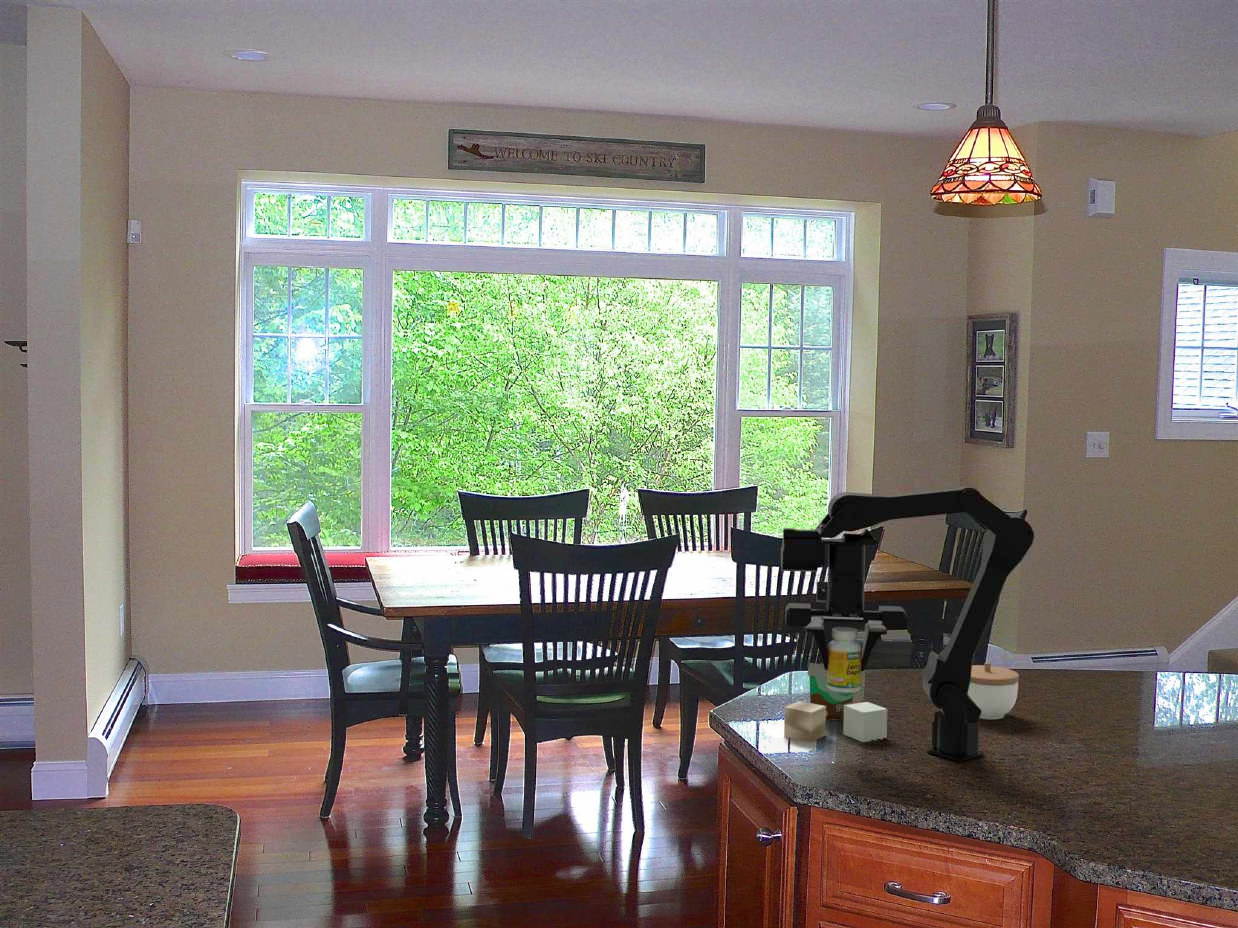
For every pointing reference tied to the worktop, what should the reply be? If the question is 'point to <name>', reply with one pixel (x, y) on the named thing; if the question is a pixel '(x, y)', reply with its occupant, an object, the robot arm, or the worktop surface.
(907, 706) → the worktop surface
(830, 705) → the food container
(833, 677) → the supplement bottle
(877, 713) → the white cube
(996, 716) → the lidded jar
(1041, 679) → the worktop surface
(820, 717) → the maple block
